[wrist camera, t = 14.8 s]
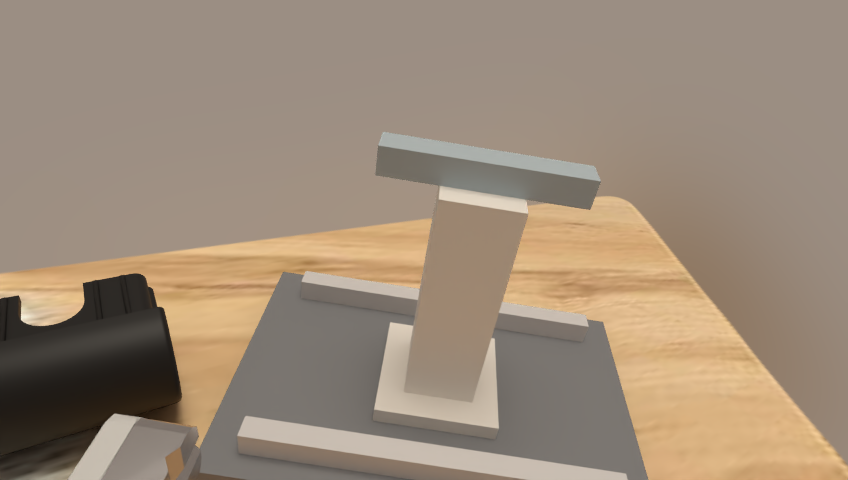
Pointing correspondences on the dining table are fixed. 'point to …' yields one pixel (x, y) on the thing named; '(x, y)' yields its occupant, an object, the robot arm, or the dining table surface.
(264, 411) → the plate
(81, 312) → the black rounded block
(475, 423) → the stand
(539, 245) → the dining table surface
